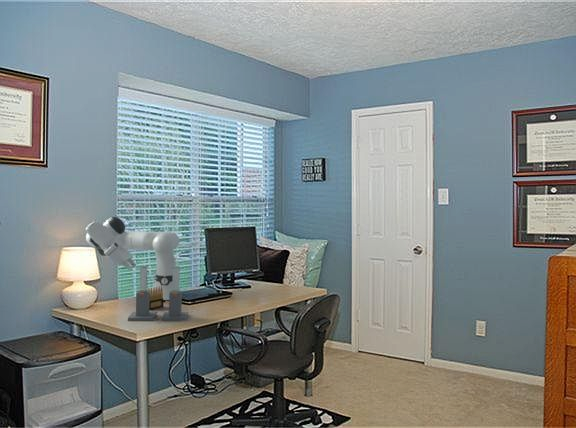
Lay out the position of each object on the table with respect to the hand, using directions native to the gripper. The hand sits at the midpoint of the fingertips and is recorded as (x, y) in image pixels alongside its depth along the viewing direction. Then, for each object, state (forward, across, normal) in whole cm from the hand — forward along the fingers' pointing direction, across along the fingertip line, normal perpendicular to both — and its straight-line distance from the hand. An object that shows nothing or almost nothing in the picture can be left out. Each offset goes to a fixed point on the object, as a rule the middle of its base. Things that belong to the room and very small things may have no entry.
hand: (133, 267), depth 250 cm
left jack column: (+15, -1, -8) cm, 17 cm away
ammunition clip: (+24, -21, -12) cm, 34 cm away
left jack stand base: (+22, -1, -14) cm, 26 cm away
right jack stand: (+33, -1, -3) cm, 33 cm away
